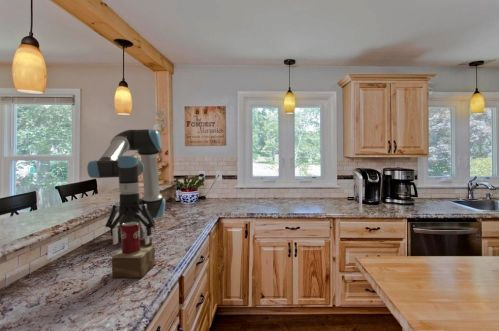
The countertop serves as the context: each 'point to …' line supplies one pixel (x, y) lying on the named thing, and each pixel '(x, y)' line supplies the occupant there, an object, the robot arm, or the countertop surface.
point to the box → (133, 266)
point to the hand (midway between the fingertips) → (131, 243)
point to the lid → (140, 254)
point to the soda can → (130, 238)
